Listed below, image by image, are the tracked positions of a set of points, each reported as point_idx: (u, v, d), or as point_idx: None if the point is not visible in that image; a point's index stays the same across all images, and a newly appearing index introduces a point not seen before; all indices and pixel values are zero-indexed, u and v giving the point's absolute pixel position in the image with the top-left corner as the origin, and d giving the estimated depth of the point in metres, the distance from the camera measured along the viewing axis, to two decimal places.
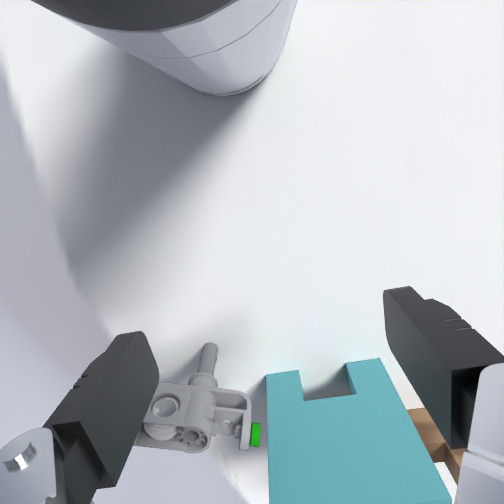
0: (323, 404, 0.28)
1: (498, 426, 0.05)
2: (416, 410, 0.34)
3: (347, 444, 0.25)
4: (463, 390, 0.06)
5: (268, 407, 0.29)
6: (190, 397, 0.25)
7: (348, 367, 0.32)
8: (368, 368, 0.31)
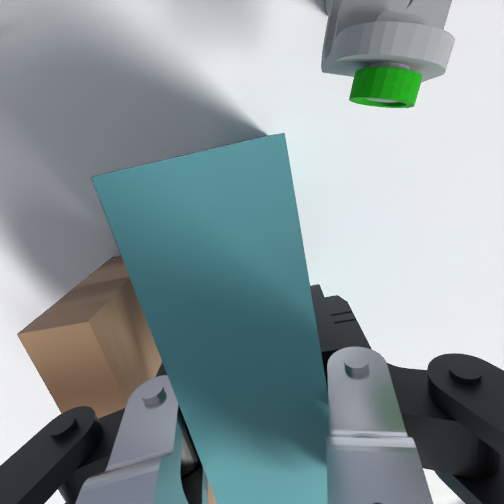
0: None
1: None
2: None
3: None
4: (325, 369, 0.07)
5: None
6: None
7: None
8: None
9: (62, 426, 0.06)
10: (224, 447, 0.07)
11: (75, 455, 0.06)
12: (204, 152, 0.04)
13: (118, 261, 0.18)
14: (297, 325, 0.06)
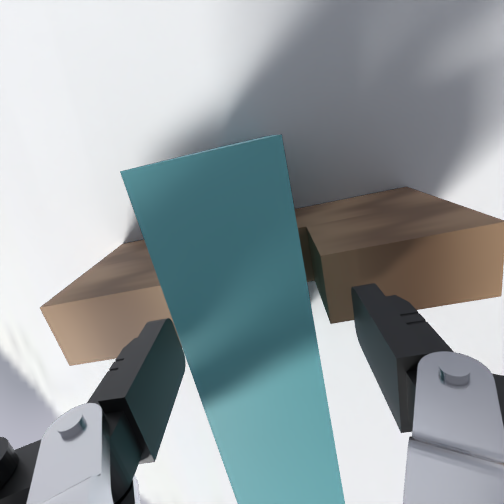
0: None
1: (424, 405, 0.05)
2: None
3: None
4: (407, 377, 0.07)
5: None
6: None
7: None
8: None
9: None
10: (230, 410, 0.08)
11: None
12: (215, 150, 0.05)
13: None
14: (293, 298, 0.06)
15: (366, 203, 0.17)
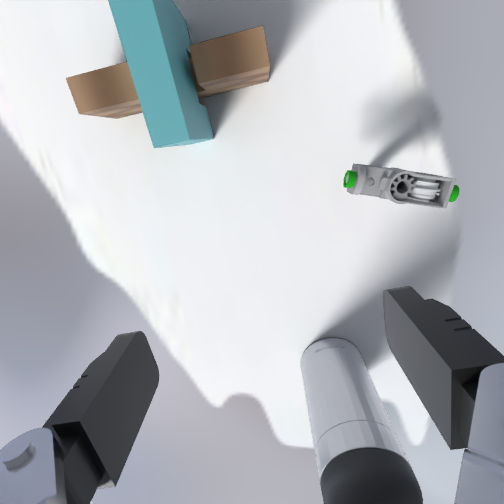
0: (189, 66, 0.30)
1: (498, 426, 0.05)
2: None
3: (183, 71, 0.27)
4: (463, 390, 0.06)
5: (175, 6, 0.29)
6: None
7: (205, 107, 0.35)
8: (209, 124, 0.35)
9: None
10: (136, 61, 0.23)
11: None
12: None
13: None
14: (149, 9, 0.21)
15: None
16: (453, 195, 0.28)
